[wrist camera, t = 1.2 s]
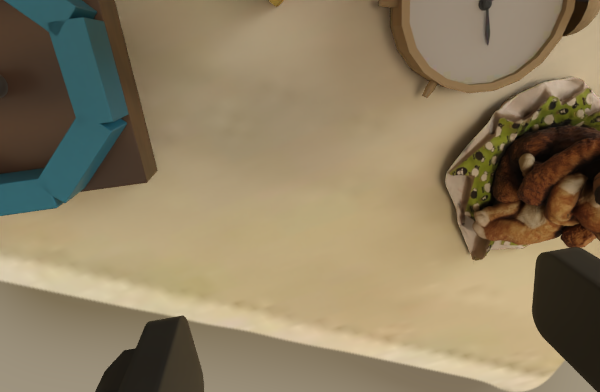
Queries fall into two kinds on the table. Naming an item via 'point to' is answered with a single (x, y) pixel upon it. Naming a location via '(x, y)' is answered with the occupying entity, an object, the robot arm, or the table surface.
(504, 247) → the animal figurine statue
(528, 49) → the alarm clock
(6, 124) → the platform
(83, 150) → the ring
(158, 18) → the table surface
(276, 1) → the candy box
